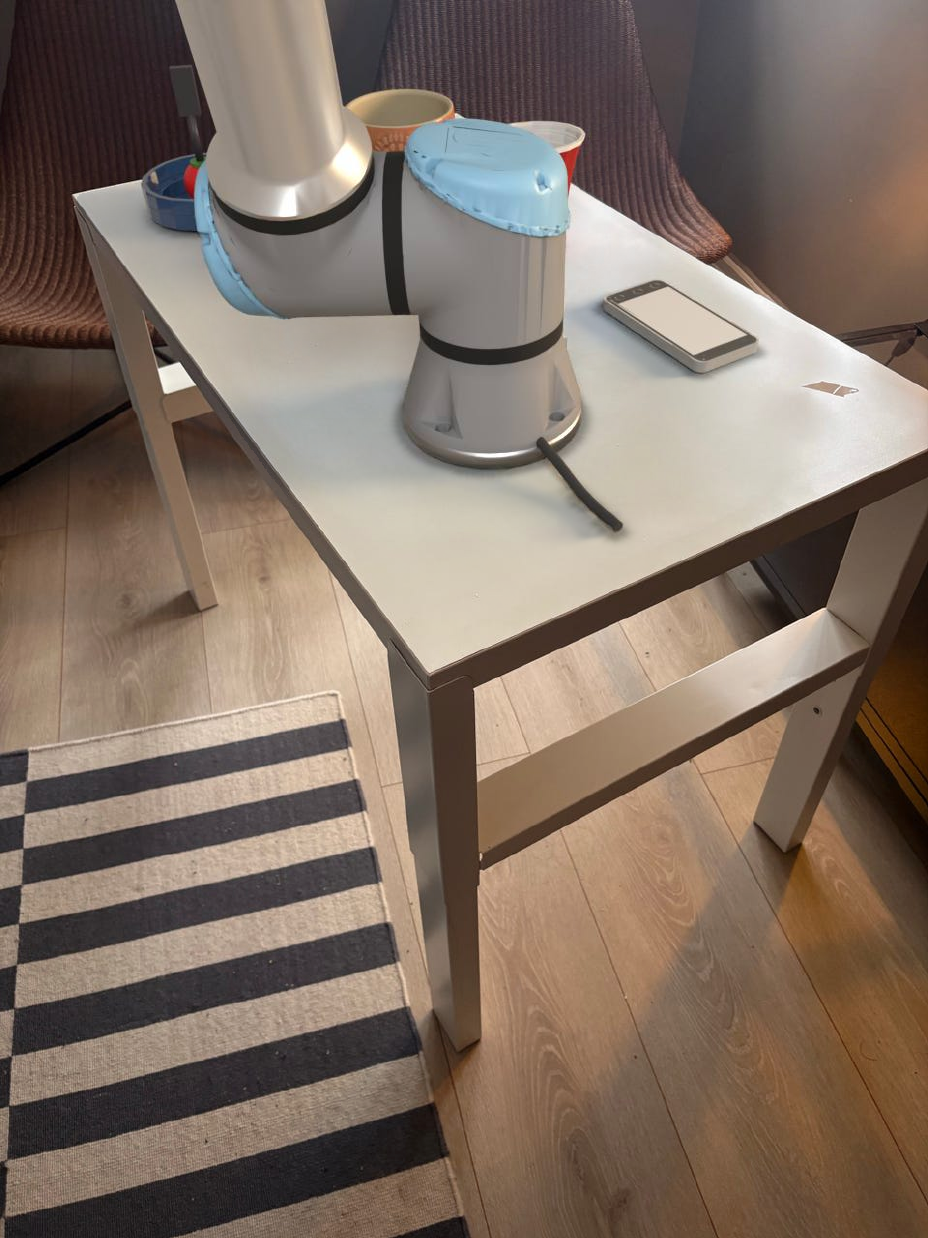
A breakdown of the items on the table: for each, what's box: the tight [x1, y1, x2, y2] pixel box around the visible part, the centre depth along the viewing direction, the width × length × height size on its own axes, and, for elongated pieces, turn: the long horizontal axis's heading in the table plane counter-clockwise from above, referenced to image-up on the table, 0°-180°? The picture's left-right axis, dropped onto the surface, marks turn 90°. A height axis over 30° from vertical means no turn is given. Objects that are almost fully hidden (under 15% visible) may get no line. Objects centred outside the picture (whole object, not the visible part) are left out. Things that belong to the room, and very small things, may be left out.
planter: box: [344, 88, 456, 152], centre depth 116 cm, size 12×12×11 cm
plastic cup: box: [507, 120, 586, 197], centre depth 107 cm, size 11×11×12 cm
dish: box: [140, 152, 207, 232], centre depth 119 cm, size 14×14×4 cm
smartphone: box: [603, 278, 759, 374], centre depth 97 cm, size 7×1×15 cm
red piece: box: [168, 64, 206, 199], centre depth 115 cm, size 5×5×15 cm
